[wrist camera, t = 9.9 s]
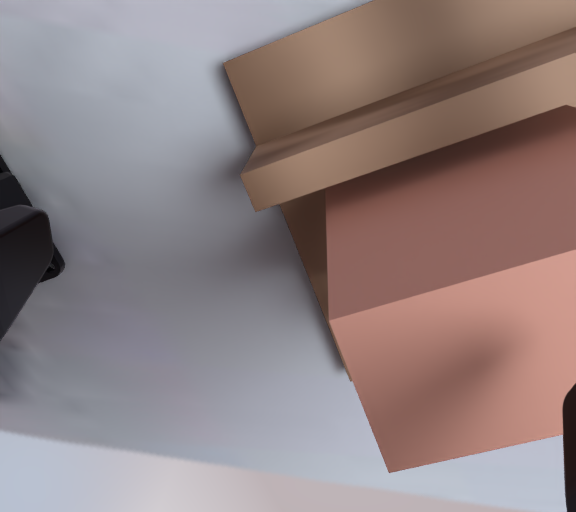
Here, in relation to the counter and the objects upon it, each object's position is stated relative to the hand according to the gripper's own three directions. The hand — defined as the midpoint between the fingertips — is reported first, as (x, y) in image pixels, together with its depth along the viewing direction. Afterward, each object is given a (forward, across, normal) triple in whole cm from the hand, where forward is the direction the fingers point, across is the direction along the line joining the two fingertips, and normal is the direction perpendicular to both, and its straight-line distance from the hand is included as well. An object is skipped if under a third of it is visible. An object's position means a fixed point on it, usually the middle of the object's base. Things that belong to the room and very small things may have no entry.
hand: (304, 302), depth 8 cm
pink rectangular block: (+11, -4, +3) cm, 12 cm away
